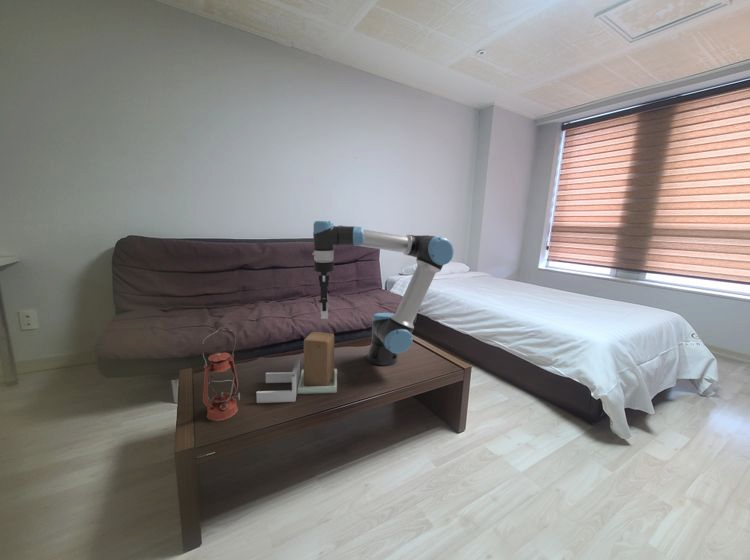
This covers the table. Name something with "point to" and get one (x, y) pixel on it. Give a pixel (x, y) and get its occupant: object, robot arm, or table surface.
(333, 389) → the tray
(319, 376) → the wooden block
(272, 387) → the table surface
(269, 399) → the dock
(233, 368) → the lantern
